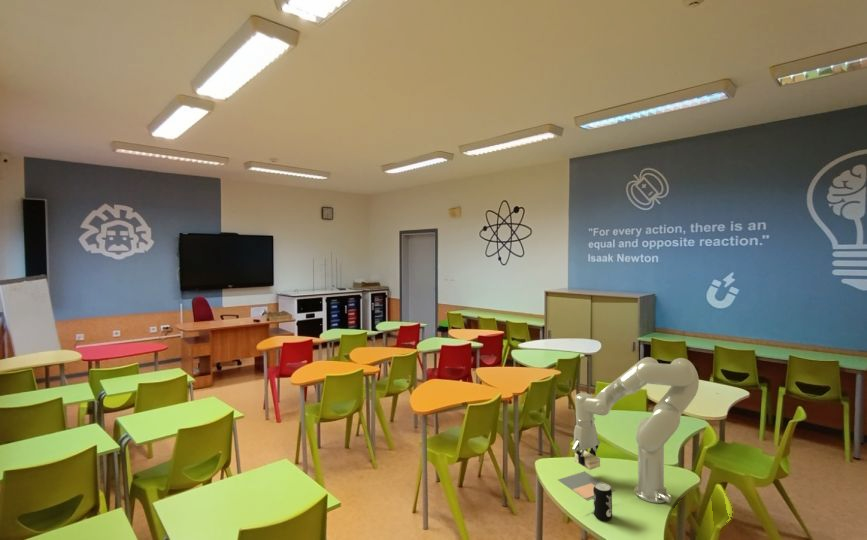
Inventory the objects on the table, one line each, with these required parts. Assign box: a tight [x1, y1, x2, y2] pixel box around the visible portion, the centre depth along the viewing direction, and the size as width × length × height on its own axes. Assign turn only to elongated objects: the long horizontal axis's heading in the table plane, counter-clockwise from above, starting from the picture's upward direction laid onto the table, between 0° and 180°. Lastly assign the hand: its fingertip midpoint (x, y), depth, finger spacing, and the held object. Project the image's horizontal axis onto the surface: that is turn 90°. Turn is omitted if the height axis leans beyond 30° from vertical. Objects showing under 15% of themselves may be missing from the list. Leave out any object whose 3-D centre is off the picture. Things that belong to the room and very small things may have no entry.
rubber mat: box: [557, 471, 617, 501], centre depth 185 cm, size 18×16×1 cm
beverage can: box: [593, 481, 613, 522], centre depth 163 cm, size 7×7×12 cm
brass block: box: [574, 450, 601, 471], centre depth 190 cm, size 9×6×4 cm, turn 24°
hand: (587, 462), depth 190 cm, fingers closed on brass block, 6 cm apart
